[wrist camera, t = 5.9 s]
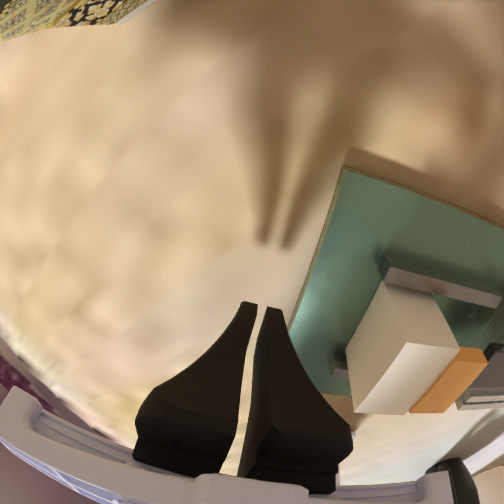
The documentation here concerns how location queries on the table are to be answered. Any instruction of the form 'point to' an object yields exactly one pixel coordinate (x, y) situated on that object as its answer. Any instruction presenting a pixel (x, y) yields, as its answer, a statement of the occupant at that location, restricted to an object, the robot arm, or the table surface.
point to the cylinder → (490, 485)
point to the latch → (407, 356)
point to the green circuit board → (398, 275)
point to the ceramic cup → (63, 14)
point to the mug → (458, 481)
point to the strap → (491, 368)
